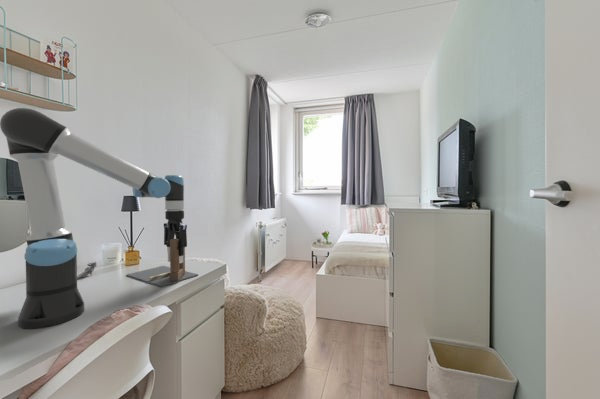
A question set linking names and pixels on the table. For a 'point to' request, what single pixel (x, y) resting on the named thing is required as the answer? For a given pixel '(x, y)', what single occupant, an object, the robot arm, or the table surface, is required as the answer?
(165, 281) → the mat
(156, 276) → the kerb
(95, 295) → the table surface
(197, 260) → the table surface
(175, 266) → the brown wooden bracket
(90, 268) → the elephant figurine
